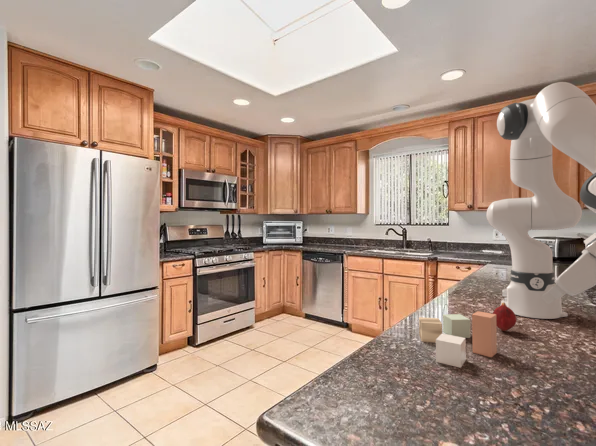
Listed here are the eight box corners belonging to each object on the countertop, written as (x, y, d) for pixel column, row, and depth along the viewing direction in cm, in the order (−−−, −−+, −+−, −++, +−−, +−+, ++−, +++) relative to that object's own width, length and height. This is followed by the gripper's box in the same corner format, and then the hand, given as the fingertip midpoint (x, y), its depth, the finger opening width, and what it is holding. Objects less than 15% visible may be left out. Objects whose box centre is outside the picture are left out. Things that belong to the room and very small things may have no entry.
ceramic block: (442, 354, 75) (441, 333, 75) (465, 360, 72) (465, 337, 72) (436, 362, 71) (435, 339, 71) (460, 368, 68) (460, 344, 68)
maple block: (419, 335, 88) (418, 317, 88) (438, 336, 87) (438, 318, 87) (421, 341, 83) (421, 322, 83) (442, 343, 82) (442, 323, 82)
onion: (520, 335, 87) (520, 305, 87) (497, 334, 88) (496, 304, 88) (510, 328, 93) (510, 300, 93) (489, 327, 94) (488, 300, 94)
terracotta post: (478, 347, 79) (477, 311, 79) (496, 352, 76) (496, 314, 76) (472, 352, 76) (472, 314, 76) (491, 357, 73) (491, 317, 73)
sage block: (443, 332, 91) (442, 314, 91) (460, 331, 91) (460, 314, 91) (452, 338, 86) (451, 319, 86) (470, 338, 86) (470, 319, 86)
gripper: (601, 238, 69) (545, 278, 76) (592, 242, 55) (524, 291, 62) (632, 260, 65) (570, 300, 72) (630, 270, 51) (554, 319, 58)
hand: (549, 296), depth 67 cm, fingers open, 8 cm apart
